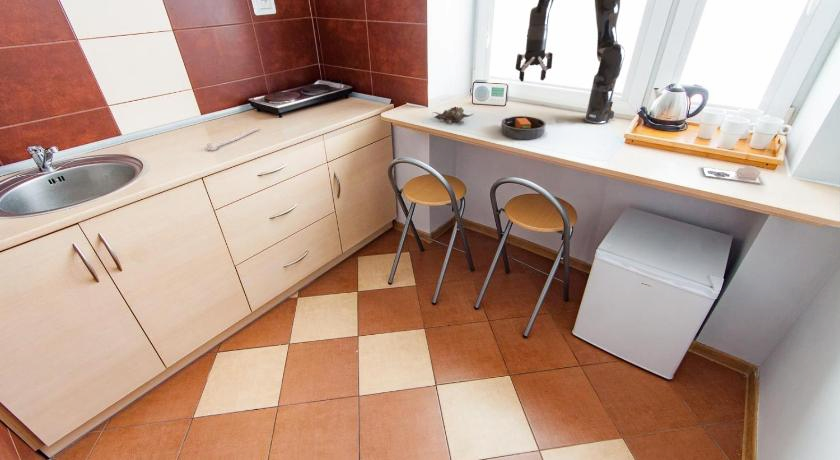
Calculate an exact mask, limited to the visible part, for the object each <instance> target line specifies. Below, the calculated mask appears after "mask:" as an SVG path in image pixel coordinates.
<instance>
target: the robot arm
mask: <svg viewBox="0 0 840 460" xmlns="http://www.w3.org/2000/svg"><path fill="white" fill-rule="evenodd" d="M554 2H555V1H554V0H538V2H537V5H536V6H535V7H532V8H531V9H530V13H529V21H528V29H527V34H526V44H525V53H524V54H520V53H517V54H516V55H517V56H516V62H515V70H516V71H519V75H518V76H519V78H518V79H519V81H520V82H524V80H525V70H526V69H528V67H529V66H531V67H532V66H540V68H541V71H540V81H544V80H545V79H546V75H547V71H548V70H552V66H553V57H554V56H553V55H554V54H553V53H552V52H551V51H548V52H546V48H547V47H546V46H547V39H548V31H549V29H548V28H549V27H548V26H549V20H550V19H549V17H550V11H551V8H552V6H553V4H554ZM620 9H621V0H594V11H595V22H596V23H595V24H596V28H597V29H596V30H597V41H596V42H597V43H596V58H597V61H598V62H599V66H598V69H597V73H595V75H594V77H593V80H592V85H591V90H590V95H589V99H588V104H587V108H586V113H585V118H584V121H585V122H586V123H587V122H588V123H589V124H590V123H591V124H597V125H598V124H605V123H608V122H609V120H613V119H614V117H615V111H613V110H612V107H613V103H614V100H613V95H614V91H615V87H616V83H617V79H618V78H619V76H620V73H621V70H622V67H623V63H624V60H625V54H626V53H625V49H624V48H625V47H623V46H622V45H621V44H619V43H618V38H617V36H618V35H617V23H618V18H619V15H620ZM545 58H546V63H545V62H544V59H545ZM523 60H524V62H523V63H522V61H523Z"/></svg>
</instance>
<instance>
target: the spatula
mask: <svg viewBox="0 0 840 460" xmlns="http://www.w3.org/2000/svg"><path fill="white" fill-rule="evenodd" d="M259 129H260V128H259V127H254V128H253V127H252V128H251V129H249V130H245V131H243V132H241V133H238V134H236V135H234V136H232V137H229V138H227V139H226V138H225V139H224V140H220V141H218V142H209V143H207V144H206V150H208V151H210V152H211V151H216V150H217V149H218V148H219V147H221V146H223V145H228V144H230V143H232V142H235V141H237V140H240V139H241V138H244V137H246V136H248V135H250V134H252V133H255V132H256V131H258V130H259ZM235 138H236V139H235ZM228 141H229V142H228ZM223 143H224V144H223ZM215 147H216V148H215ZM208 148H210V149H208ZM211 148H213V149H211Z"/></svg>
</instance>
